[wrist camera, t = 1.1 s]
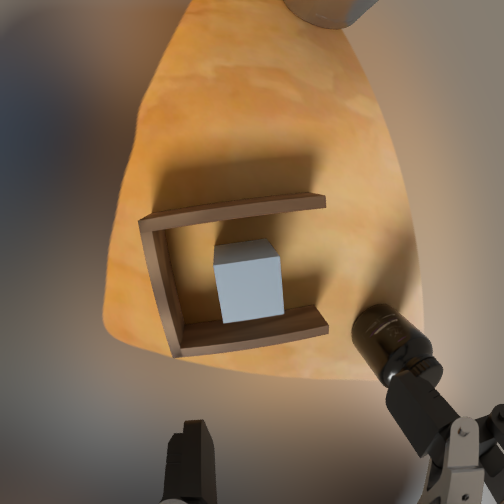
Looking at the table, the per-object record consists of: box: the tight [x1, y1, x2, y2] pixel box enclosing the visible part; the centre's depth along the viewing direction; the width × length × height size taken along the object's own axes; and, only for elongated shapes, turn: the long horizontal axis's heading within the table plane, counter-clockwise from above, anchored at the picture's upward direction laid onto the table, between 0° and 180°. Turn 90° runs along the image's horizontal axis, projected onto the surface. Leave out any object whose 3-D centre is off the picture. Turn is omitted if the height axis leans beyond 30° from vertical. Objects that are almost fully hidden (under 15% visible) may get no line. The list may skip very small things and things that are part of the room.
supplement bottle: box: [352, 304, 443, 388], centre depth 25 cm, size 7×7×12 cm
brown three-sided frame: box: [138, 192, 329, 358], centre depth 24 cm, size 13×15×4 cm
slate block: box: [213, 239, 284, 323], centre depth 24 cm, size 5×5×6 cm
